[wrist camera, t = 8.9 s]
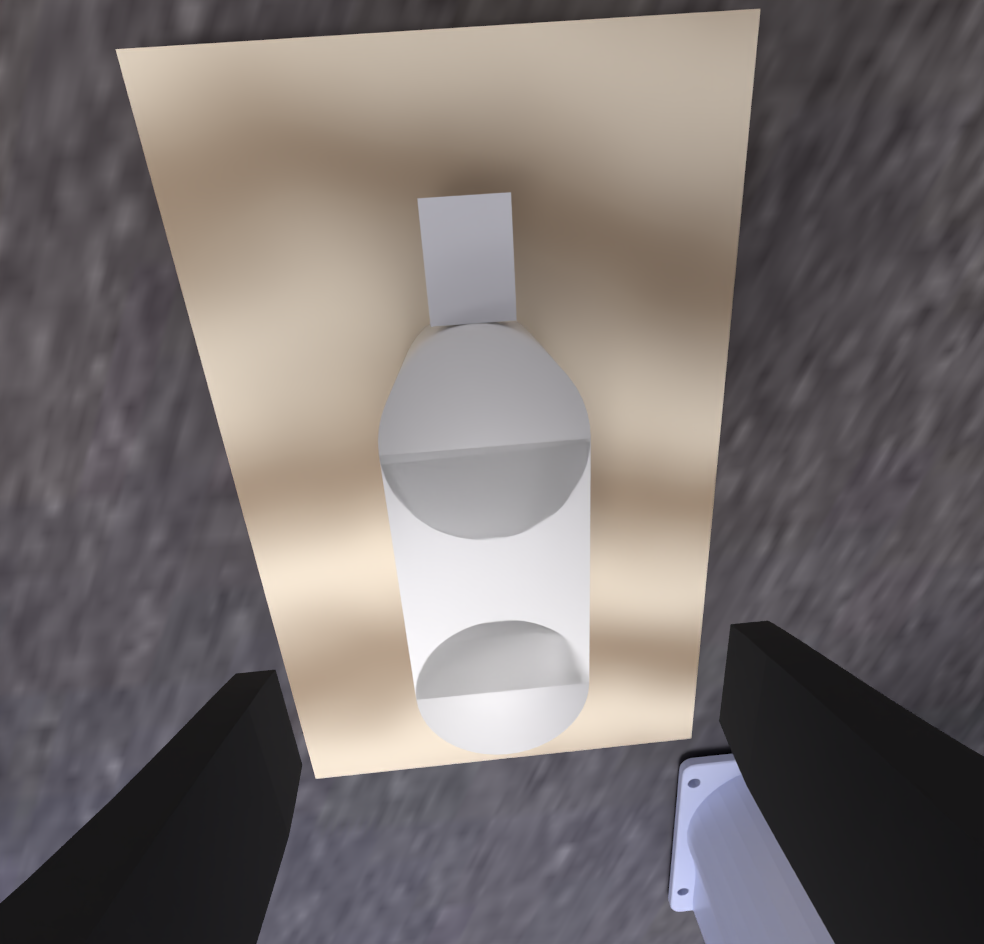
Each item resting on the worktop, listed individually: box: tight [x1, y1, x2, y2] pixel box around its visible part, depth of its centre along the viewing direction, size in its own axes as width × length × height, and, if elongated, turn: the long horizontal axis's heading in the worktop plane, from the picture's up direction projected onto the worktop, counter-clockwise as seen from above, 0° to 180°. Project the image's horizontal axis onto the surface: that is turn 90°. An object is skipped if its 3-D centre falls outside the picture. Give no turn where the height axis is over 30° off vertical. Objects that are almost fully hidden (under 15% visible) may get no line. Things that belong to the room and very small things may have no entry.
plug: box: [378, 192, 591, 755], centre depth 13 cm, size 12×4×5 cm, turn 4°
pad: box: [116, 9, 760, 779], centre depth 17 cm, size 22×14×1 cm, turn 4°
